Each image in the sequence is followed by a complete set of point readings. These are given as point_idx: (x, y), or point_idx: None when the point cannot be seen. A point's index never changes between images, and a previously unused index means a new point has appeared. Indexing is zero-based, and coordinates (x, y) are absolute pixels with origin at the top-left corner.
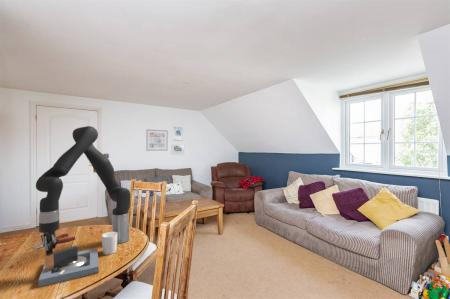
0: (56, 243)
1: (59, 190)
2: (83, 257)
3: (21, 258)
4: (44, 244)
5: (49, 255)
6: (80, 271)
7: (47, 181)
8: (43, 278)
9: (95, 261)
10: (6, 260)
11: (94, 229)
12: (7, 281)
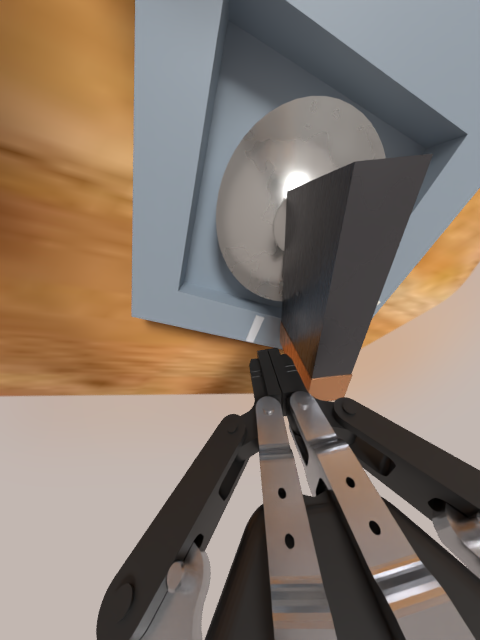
0: (466, 468)
1: None
2: (299, 114)
3: (19, 362)
4: (244, 465)
5: (343, 391)
6: (446, 222)
7: None
8: None
9: (478, 48)
10: (23, 392)
11: None
12: (212, 390)
